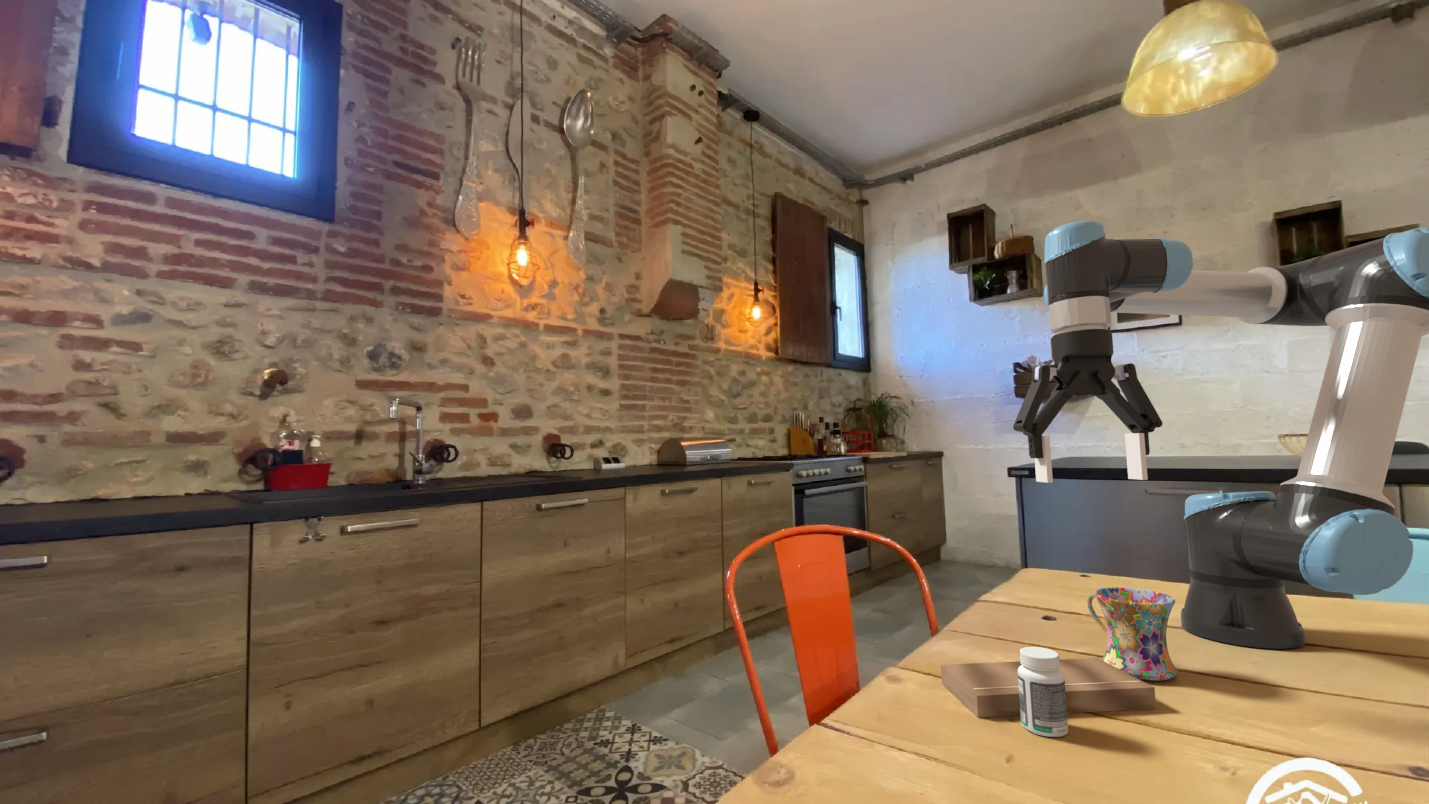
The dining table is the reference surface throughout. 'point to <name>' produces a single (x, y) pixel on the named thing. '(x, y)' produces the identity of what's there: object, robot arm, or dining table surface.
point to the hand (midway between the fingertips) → (1091, 481)
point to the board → (1085, 687)
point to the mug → (1136, 631)
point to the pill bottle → (1042, 692)
